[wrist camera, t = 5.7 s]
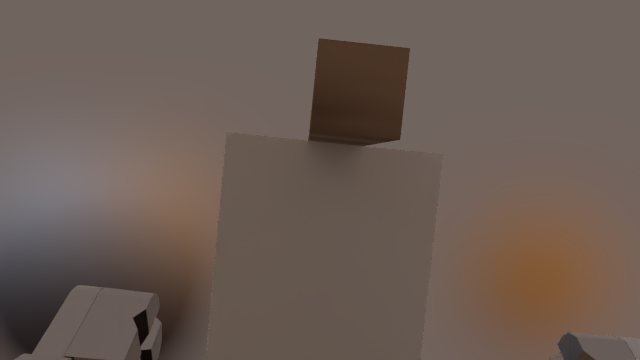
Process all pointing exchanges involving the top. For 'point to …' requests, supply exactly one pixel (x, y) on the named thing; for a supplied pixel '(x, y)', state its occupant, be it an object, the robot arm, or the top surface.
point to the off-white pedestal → (322, 251)
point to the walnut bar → (358, 93)
